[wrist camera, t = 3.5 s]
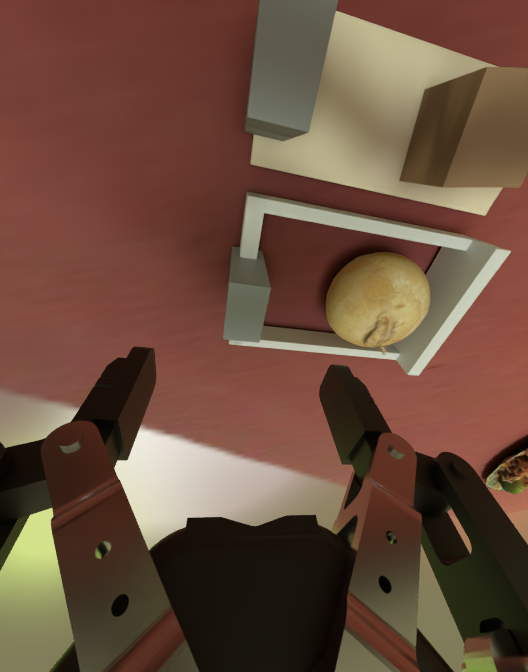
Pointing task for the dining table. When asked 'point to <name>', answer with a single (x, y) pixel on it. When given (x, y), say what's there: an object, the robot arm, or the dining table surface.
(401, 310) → the onion
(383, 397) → the dining table surface
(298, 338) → the grey rectangular frame
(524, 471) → the rice dish
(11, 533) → the robot arm
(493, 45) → the dining table surface
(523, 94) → the walnut cube
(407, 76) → the cream board with block
